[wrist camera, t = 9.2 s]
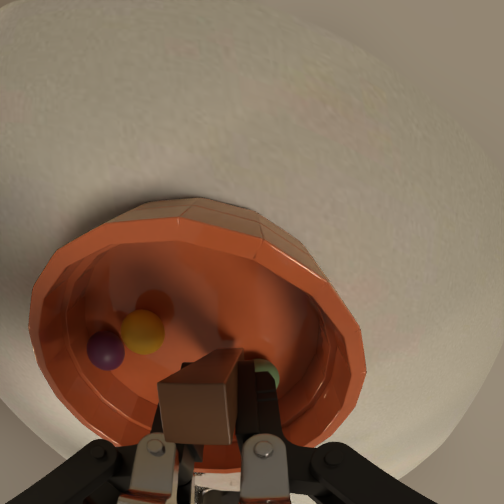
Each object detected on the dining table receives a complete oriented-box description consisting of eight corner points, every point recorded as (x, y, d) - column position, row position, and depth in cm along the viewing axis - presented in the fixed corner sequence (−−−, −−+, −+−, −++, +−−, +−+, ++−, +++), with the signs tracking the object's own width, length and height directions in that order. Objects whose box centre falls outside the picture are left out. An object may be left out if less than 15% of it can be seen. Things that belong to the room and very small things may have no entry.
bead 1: (117, 359, 16) (104, 383, 14) (90, 333, 15) (74, 356, 13) (137, 344, 16) (124, 370, 13) (109, 316, 15) (91, 339, 13)
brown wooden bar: (243, 347, 15) (245, 373, 15) (215, 348, 15) (218, 375, 15) (225, 383, 5) (231, 445, 5) (155, 382, 5) (164, 442, 5)
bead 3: (255, 387, 17) (252, 412, 14) (231, 362, 17) (224, 386, 14) (287, 370, 16) (288, 395, 14) (263, 344, 16) (261, 367, 14)
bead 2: (151, 343, 16) (139, 370, 13) (121, 315, 15) (105, 339, 13) (178, 324, 15) (168, 351, 13) (147, 293, 15) (132, 317, 12)
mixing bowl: (197, 438, 20) (191, 486, 15) (42, 307, 15) (2, 347, 10) (374, 346, 17) (406, 399, 12) (210, 127, 12) (190, 106, 7)
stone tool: (308, 440, 21) (181, 459, 23) (311, 465, 18) (175, 479, 20) (328, 467, 23) (216, 485, 25) (330, 488, 20) (213, 502, 22)
